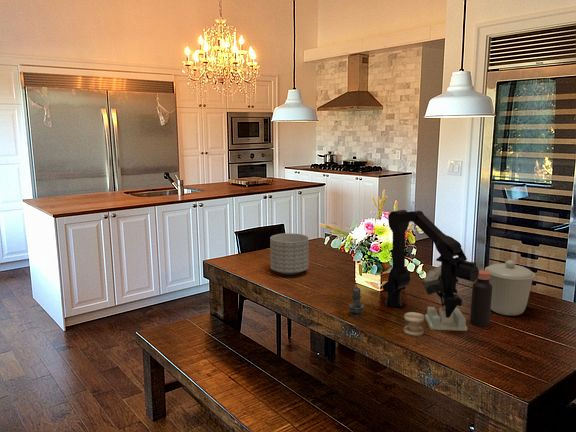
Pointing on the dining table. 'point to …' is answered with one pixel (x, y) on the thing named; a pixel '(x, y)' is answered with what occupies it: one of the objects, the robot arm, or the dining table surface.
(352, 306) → the flange bolt
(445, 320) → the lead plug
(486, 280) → the bottle
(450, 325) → the notch board
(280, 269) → the planter
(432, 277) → the long grey stone
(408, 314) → the bobbin
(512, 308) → the canister
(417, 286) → the dining table surface
